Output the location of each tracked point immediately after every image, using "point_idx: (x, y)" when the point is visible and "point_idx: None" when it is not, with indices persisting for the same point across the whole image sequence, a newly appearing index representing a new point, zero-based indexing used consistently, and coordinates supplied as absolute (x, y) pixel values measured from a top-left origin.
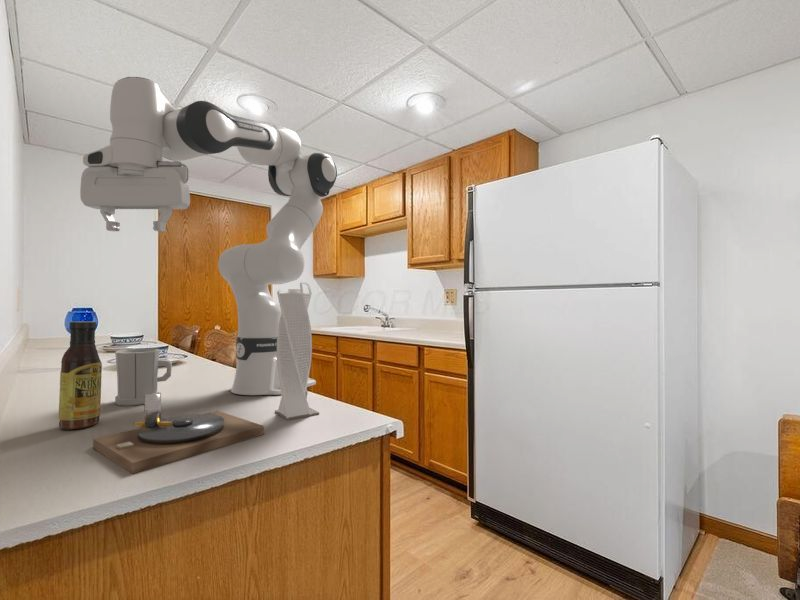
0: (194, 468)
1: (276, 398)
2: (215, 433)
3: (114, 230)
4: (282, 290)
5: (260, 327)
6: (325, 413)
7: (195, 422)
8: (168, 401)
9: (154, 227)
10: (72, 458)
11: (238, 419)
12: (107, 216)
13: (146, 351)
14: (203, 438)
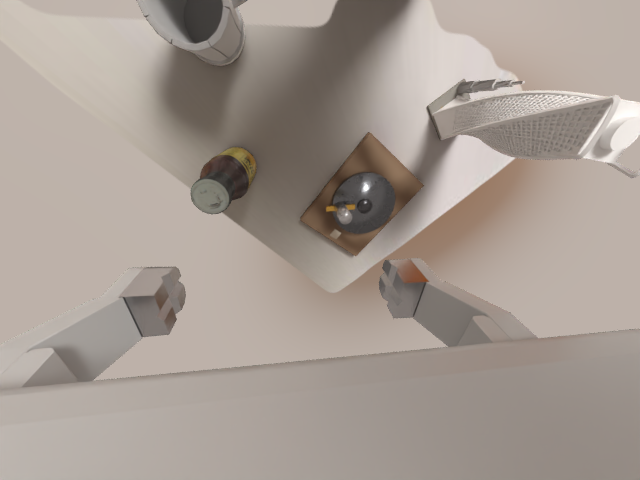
0: (385, 244)
1: (427, 12)
2: None
3: (182, 289)
4: (596, 139)
5: None
6: None
7: (372, 200)
8: (265, 30)
9: (387, 296)
10: (301, 235)
11: (399, 166)
12: (102, 361)
13: None
14: None
